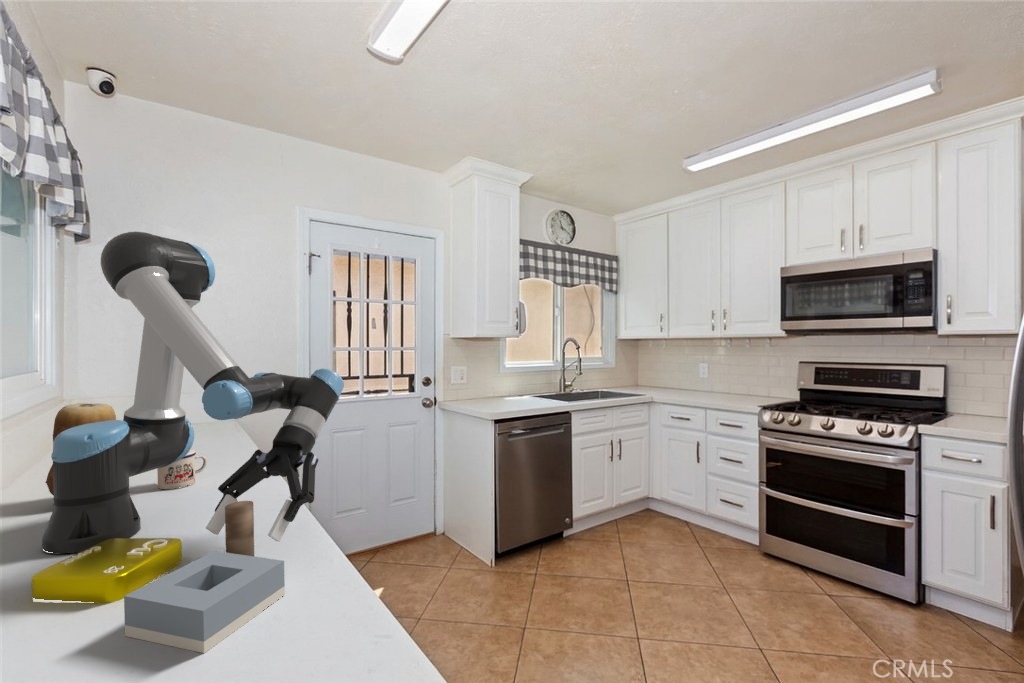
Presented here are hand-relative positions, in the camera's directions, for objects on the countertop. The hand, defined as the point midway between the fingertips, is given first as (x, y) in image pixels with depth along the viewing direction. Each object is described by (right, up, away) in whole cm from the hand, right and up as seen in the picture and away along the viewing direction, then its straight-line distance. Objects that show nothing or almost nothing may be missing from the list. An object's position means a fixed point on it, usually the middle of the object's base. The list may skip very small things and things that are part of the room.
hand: (241, 535), depth 83 cm
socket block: (+4, -6, -14) cm, 16 cm away
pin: (-1, -6, +1) cm, 6 cm away
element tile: (-20, -7, -3) cm, 22 cm away
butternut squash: (-62, -7, +37) cm, 72 cm away
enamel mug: (-46, -6, +50) cm, 68 cm away
